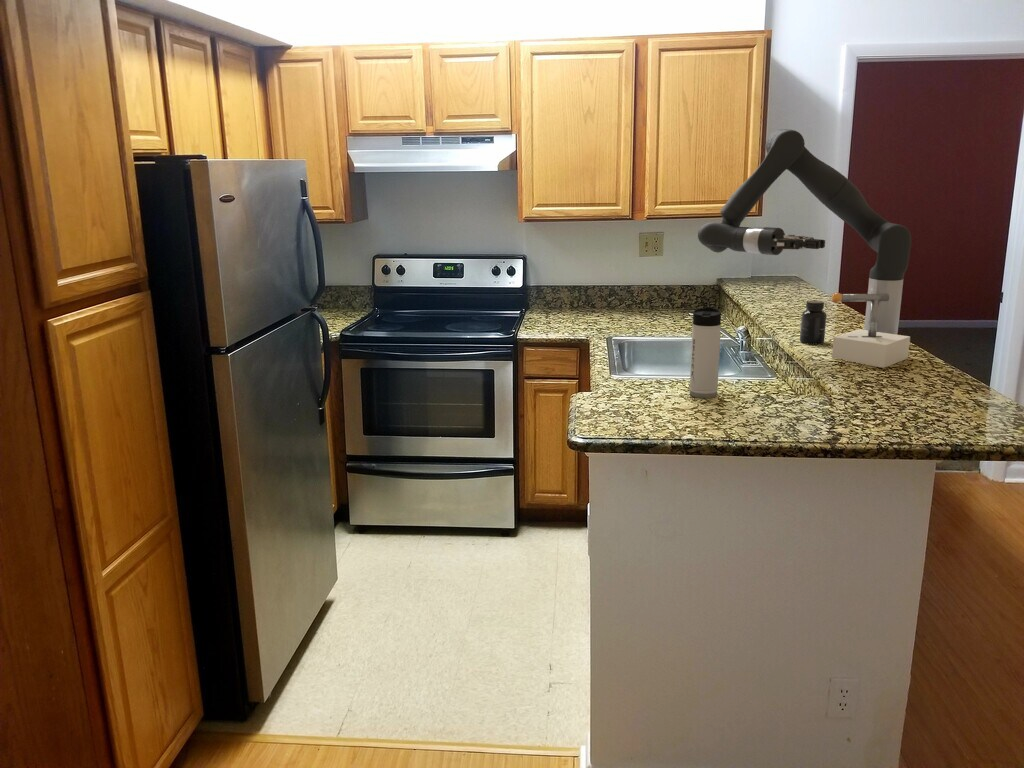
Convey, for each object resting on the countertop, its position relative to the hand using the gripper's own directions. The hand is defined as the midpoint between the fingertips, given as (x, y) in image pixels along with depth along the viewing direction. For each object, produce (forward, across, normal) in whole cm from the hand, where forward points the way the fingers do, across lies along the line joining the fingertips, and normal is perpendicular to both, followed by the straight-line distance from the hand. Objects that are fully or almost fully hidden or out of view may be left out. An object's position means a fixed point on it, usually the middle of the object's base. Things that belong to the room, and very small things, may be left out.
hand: (821, 244), depth 212 cm
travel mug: (+2, -53, +30) cm, 61 cm away
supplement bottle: (-8, +14, +30) cm, 34 cm away
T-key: (+10, +3, +24) cm, 26 cm away
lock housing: (+13, +6, +30) cm, 33 cm away
